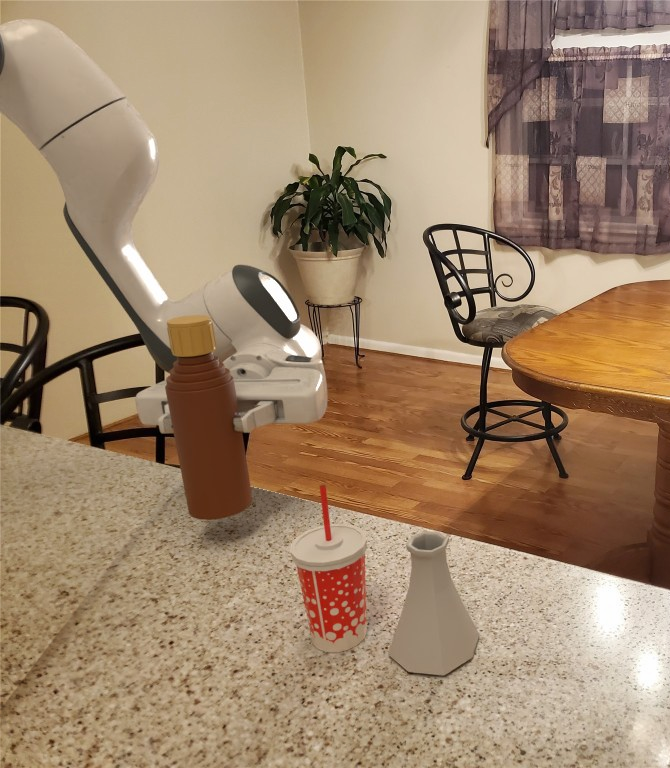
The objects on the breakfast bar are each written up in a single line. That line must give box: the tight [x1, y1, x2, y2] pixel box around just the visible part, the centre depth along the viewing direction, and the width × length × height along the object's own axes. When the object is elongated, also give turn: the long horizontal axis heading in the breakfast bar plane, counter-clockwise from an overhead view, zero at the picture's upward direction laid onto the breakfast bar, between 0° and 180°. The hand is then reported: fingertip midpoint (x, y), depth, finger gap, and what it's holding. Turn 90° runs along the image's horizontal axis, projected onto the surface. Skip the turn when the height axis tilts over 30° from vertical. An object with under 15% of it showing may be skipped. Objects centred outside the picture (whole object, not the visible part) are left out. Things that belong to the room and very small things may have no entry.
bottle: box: [165, 352, 253, 521], centre depth 71 cm, size 6×6×20 cm
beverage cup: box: [290, 484, 368, 653], centre depth 57 cm, size 6×6×14 cm
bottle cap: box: [167, 315, 216, 357], centre depth 68 cm, size 4×4×3 cm
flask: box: [387, 530, 480, 676], centre depth 55 cm, size 7×7×10 cm
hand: (203, 426), depth 70 cm, fingers closed on bottle, 6 cm apart
